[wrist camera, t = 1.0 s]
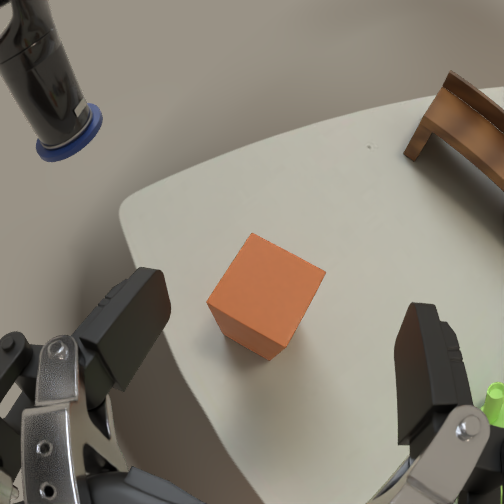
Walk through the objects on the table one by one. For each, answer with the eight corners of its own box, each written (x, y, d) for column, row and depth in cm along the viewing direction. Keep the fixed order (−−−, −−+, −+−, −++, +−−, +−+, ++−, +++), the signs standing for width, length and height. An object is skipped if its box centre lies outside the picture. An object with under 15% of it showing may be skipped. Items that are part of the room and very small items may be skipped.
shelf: (401, 155, 37) (432, 97, 27) (426, 117, 41) (450, 69, 31) (511, 249, 31) (558, 212, 21) (519, 195, 36) (554, 159, 26)
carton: (223, 334, 27) (205, 302, 16) (250, 290, 29) (251, 232, 18) (270, 361, 26) (285, 348, 15) (295, 315, 28) (326, 271, 17)
